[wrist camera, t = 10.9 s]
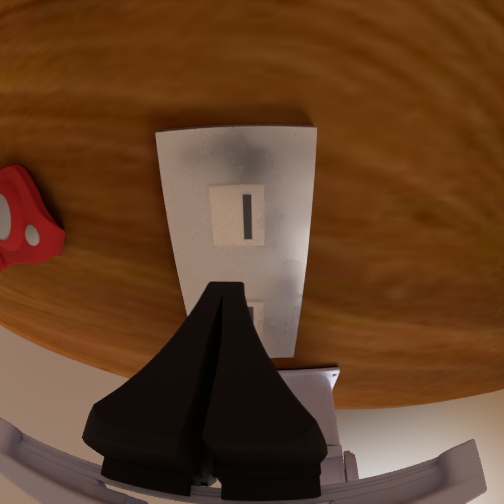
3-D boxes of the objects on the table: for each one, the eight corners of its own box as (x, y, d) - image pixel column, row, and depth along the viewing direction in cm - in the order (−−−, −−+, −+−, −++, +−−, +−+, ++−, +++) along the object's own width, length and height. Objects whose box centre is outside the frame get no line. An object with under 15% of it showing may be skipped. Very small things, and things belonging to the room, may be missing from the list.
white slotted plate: (292, 349, 26) (293, 359, 25) (199, 348, 26) (197, 358, 25) (313, 125, 15) (317, 128, 14) (160, 129, 15) (153, 133, 14)
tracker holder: (-15, 153, 14) (42, 194, 14) (20, 151, 18) (84, 187, 18) (-23, 274, 18) (32, 332, 18) (6, 261, 22) (62, 311, 22)
